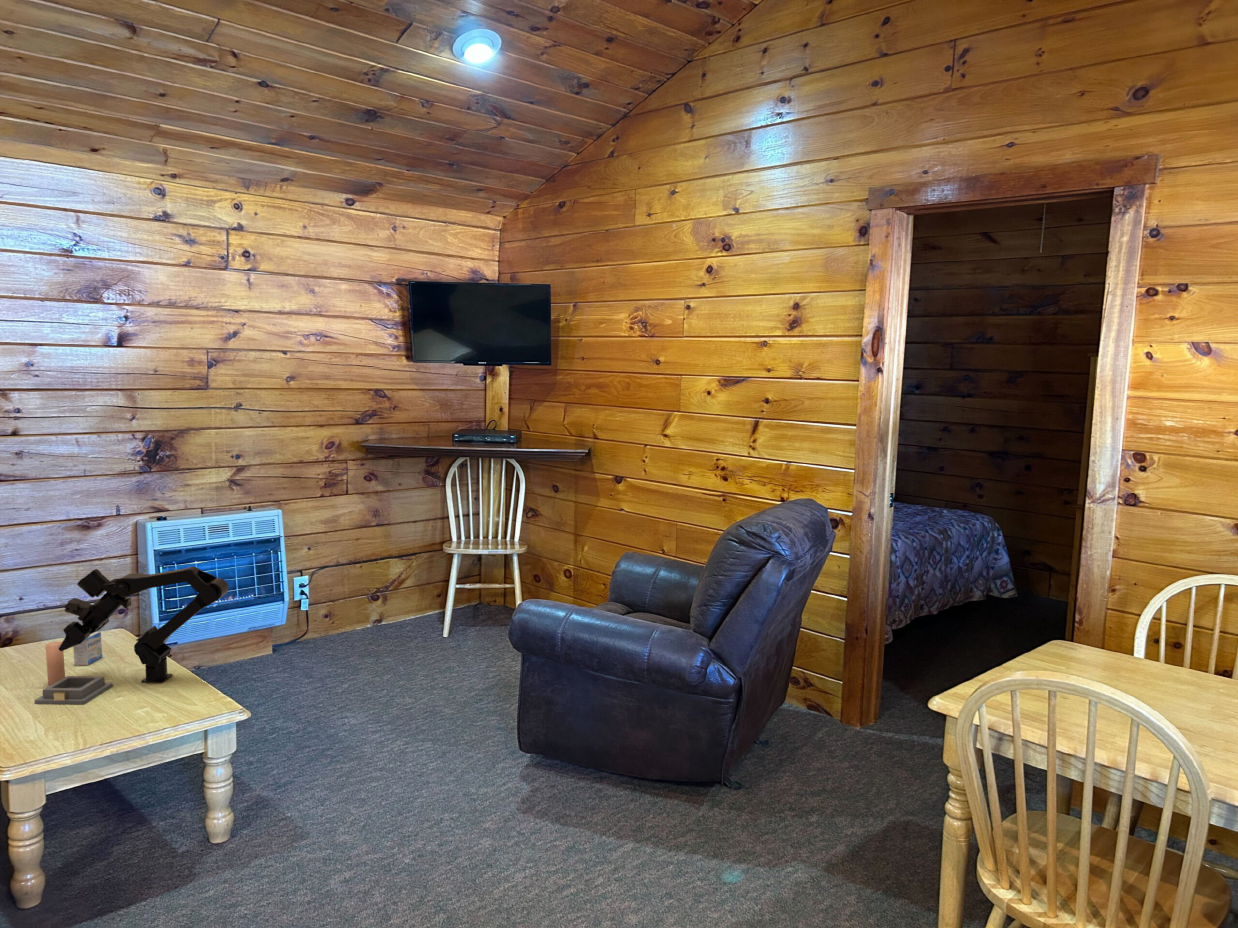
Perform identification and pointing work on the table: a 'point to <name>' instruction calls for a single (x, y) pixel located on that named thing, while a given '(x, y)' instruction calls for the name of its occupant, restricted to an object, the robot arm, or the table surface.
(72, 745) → the table surface
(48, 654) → the terracotta peg
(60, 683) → the gray square tray
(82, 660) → the medicine box
